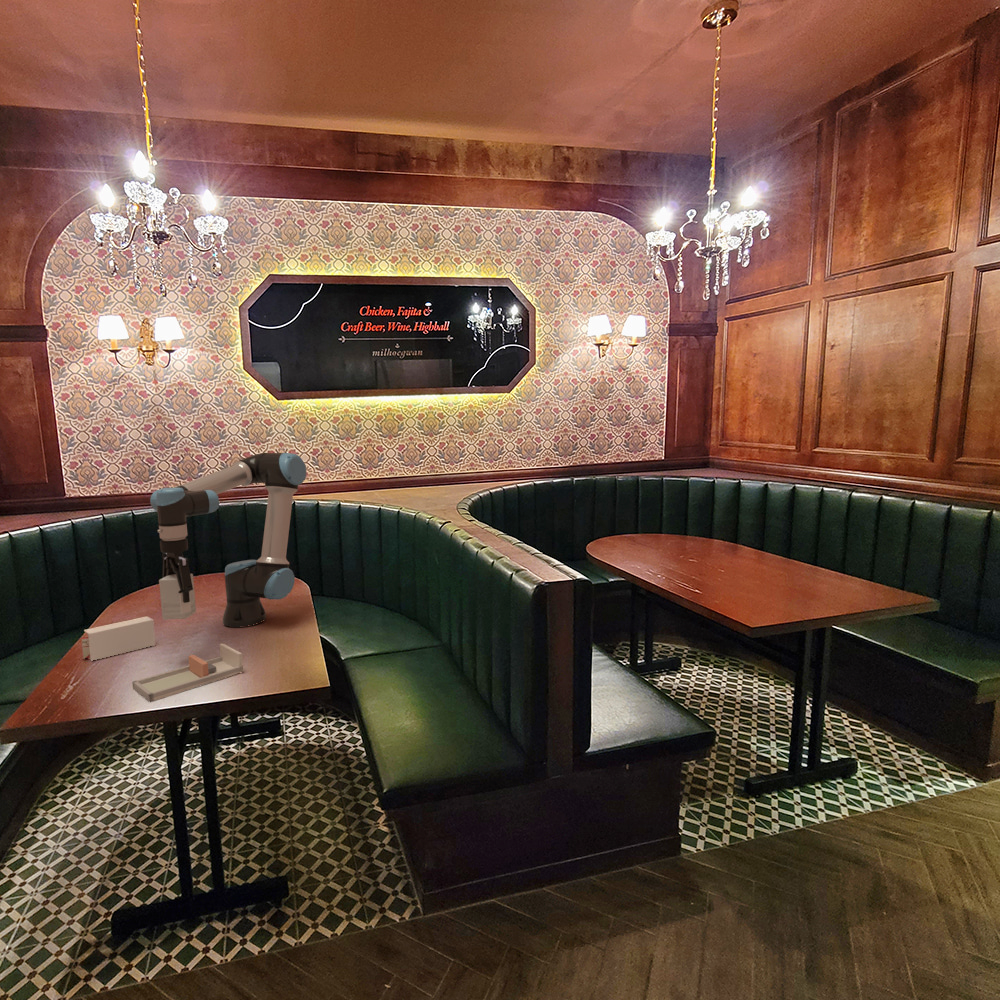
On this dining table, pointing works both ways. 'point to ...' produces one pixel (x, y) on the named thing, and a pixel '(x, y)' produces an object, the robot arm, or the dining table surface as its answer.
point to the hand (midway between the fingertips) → (179, 608)
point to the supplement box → (174, 598)
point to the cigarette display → (118, 638)
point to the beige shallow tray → (189, 676)
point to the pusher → (200, 666)
